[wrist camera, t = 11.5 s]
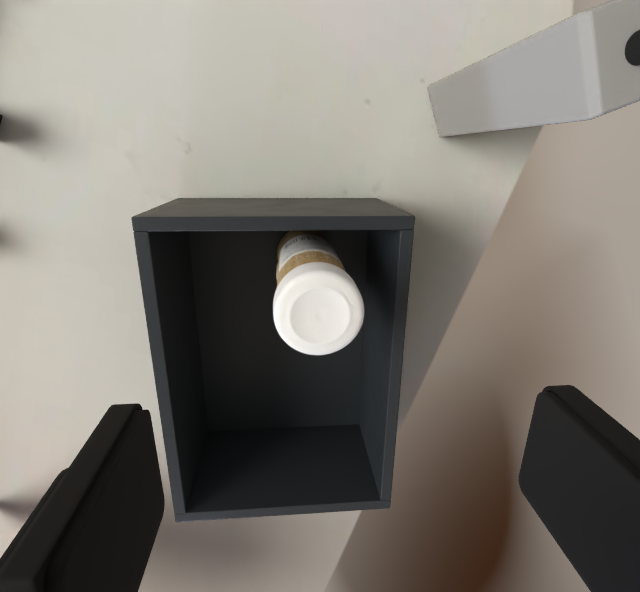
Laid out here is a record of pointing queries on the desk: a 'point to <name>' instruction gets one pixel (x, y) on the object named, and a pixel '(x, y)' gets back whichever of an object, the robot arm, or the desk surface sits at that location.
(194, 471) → the wastebin
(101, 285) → the desk surface
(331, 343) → the sprinkles bottle
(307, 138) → the desk surface
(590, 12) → the vintage mobile phone
